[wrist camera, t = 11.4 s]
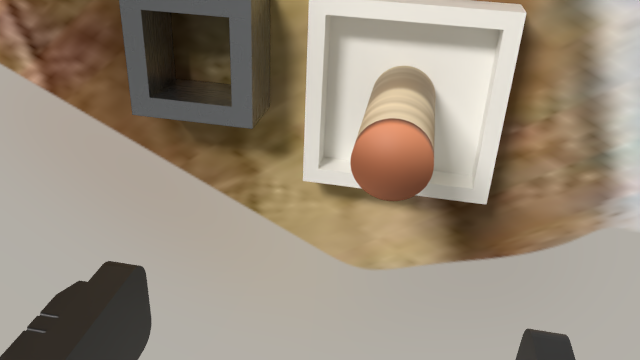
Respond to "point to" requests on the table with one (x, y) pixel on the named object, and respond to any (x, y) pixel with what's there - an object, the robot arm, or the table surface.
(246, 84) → the socket block
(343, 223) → the table surface
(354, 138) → the tray
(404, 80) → the pin
